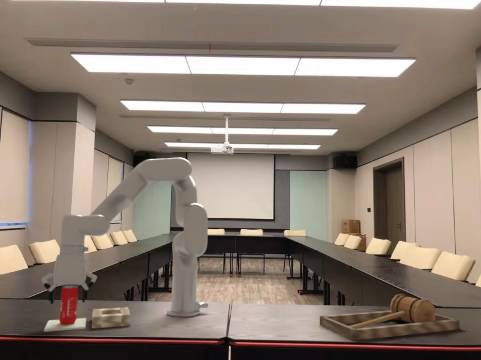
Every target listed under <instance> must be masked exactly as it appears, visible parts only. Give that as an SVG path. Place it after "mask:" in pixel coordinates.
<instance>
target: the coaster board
mask: <svg viewBox="0 0 481 360" xmlns="http://www.w3.org/2000/svg"><path fill="white" fill-rule="evenodd" d="M86 324H87V318H86V317H83V318H80V317H79V318H76V321H75V323H74V324H71V325H61V324H60V321H59V319H49V320H48V321H47V322H46V325H45V327H44V329H43V332H47V333H48V332H59V331H73V330H74V331H75V330H85V329H86Z"/></svg>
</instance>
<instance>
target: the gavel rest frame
mask: <svg viewBox="0 0 481 360" xmlns="http://www.w3.org/2000/svg"><path fill="white" fill-rule="evenodd" d="M390 314H391V310H382V311H381V310H380V311H370V312H369V311H368V312H367V311H366V312H356V313H346V314H345V313H344V314H343V313H341V314H331V315H319V325H320V326H321V327H324V328H325V329H327V330H331V332H334V333H336V334H339V335H341V336H343V337H346V338H348V339H350V340H352V341H363V340H372V339H374V340H375V339H382V338H389V337H391V338H392V337H398V336H399V337H400V336H401V337H402V336H408V335H418V334H428V333H438V332H444V331H445V332H447V331H456V330H461V329H460V328H461V327H460V324H461V323H460V320H459V319H456V318H451V317H448V316H444V315H440V314H438V313H435V321H432V322H422V323H403V324H402V323H401V324H391V325H382V326H372V327H370V326H368V327H364V328H358V329H354V328H352V327H349V326H350V325H349V324H359V323H363V322H367V321H370V320H374V319H377V318H380V317H383V316H387V315H390ZM395 320H396V319H394V318H393V319H390V320H389V321H395Z"/></svg>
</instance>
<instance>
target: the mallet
mask: <svg viewBox="0 0 481 360" xmlns="http://www.w3.org/2000/svg"><path fill="white" fill-rule="evenodd" d="M389 309H390V311H391V314H390V315H387V316H383V317H380V318H377V319H374V320H370V321H367V322H361V323H354V324H351V325H348V326H349V327H352V328H354V329H358V328H368V327H370V326H373V325H376V324H380V323H383V322H386V321H391V320H390V319H393V318H394V319H395V320H396V321H399V322H404V323H407V324H411V323H422V322H432V321H435V314H436V307H435V305H434V303H432V301H430V300H429V299H427V298H415V297H412V296H411V297H410V296H409V295H408V296H407V295H406V294H403V293H400V294H395V296H394V297H393V298H392V299H391V302H390V308H389Z"/></svg>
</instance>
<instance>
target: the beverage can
mask: <svg viewBox="0 0 481 360" xmlns="http://www.w3.org/2000/svg"><path fill="white" fill-rule="evenodd" d="M78 300H79V285H62V288H61V295H60V306H59V308H60V309H59V318H58V320H59V321H60V324H61V325H71V324H74V323H75V321H76V319H77V313H78Z"/></svg>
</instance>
